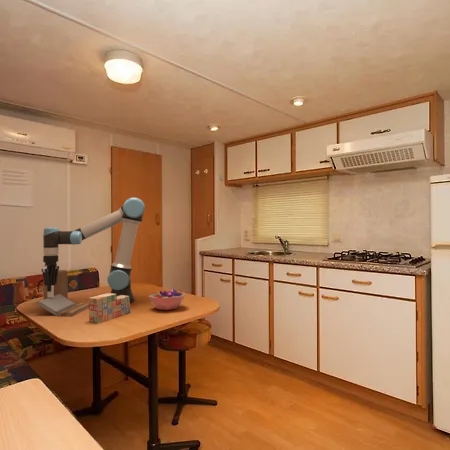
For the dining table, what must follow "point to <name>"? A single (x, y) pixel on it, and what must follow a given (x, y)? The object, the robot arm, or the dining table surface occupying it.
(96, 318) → the stack of blocks
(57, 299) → the plank
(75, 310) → the board
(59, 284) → the wooden block
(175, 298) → the cell model
